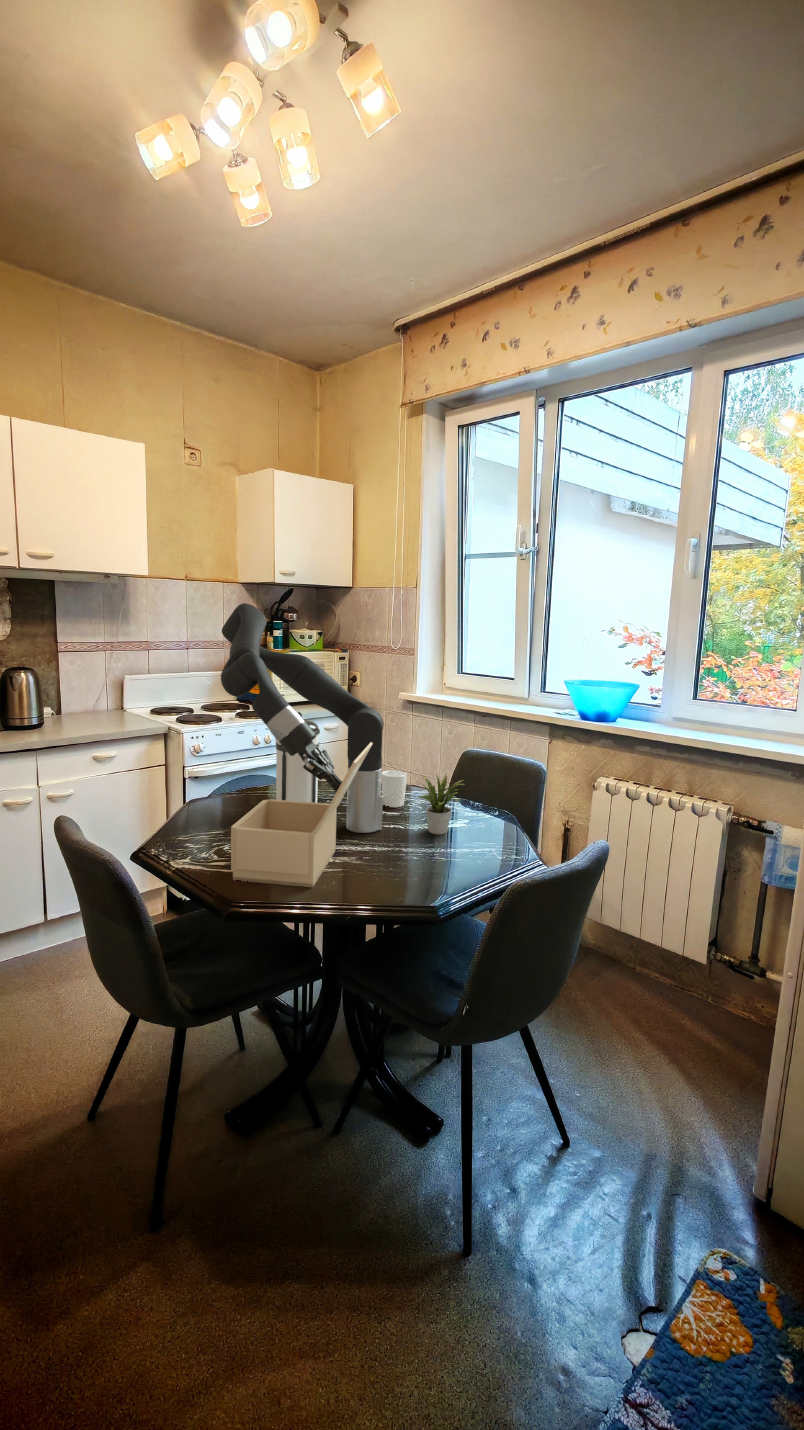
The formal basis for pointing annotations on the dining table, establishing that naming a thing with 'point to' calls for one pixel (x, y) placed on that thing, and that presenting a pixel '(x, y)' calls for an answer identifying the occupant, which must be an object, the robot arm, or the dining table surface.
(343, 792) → the lid flap
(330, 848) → the carton
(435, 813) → the house plant
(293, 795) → the coffee press
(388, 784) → the white cup
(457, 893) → the dining table surface
